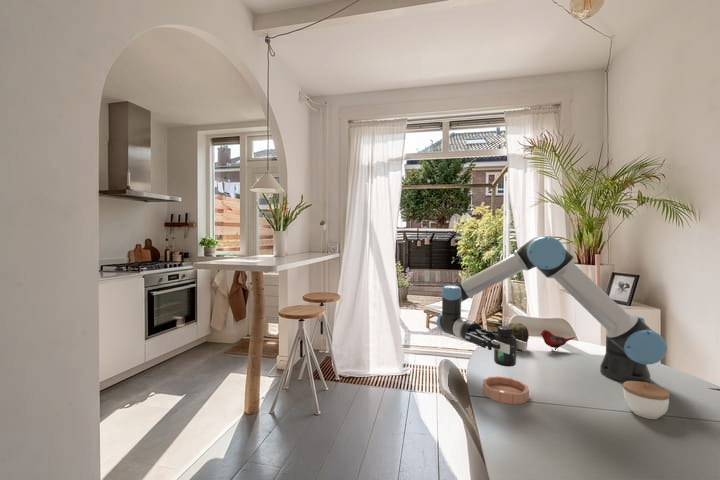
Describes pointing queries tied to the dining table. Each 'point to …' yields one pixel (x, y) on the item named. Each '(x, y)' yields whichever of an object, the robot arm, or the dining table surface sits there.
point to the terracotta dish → (506, 390)
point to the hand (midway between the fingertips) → (517, 348)
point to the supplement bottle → (507, 338)
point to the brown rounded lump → (519, 332)
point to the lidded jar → (646, 399)
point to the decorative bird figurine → (554, 339)
